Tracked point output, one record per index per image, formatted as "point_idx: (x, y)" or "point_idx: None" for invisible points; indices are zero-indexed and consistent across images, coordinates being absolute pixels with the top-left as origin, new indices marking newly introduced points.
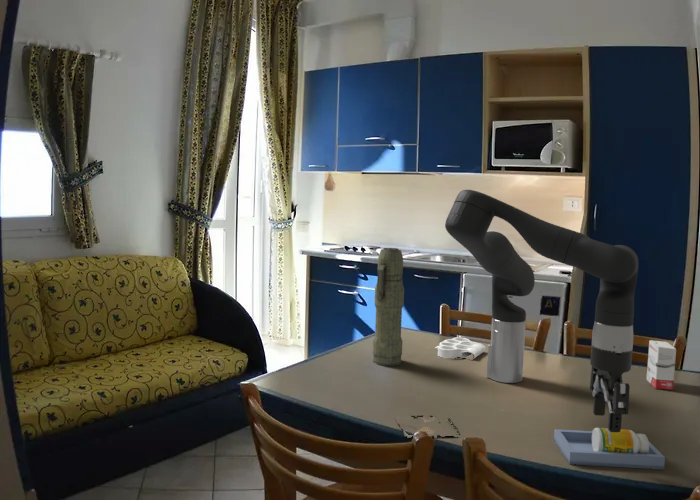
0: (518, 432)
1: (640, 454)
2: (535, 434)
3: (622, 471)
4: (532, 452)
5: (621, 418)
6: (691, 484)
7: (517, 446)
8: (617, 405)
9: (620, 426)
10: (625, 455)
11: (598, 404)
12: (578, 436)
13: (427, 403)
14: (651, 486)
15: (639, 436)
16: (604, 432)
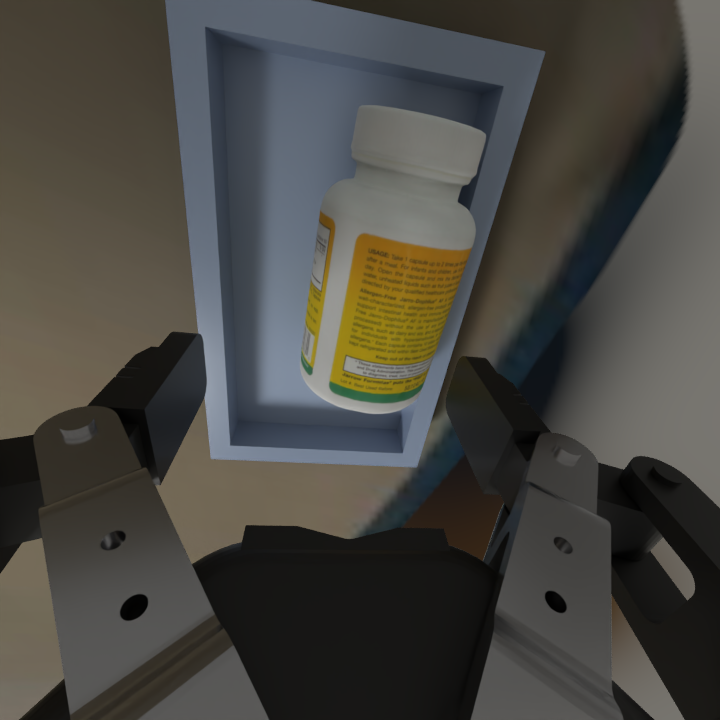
0: (174, 500)
1: (483, 204)
2: (177, 462)
3: (482, 293)
4: (325, 497)
5: (523, 409)
6: (678, 10)
7: (287, 519)
8: (680, 597)
9: (495, 375)
10: (470, 284)
11: (178, 420)
12: (231, 373)
13: (16, 639)
14: (610, 243)
15: (441, 179)
16: (402, 389)
